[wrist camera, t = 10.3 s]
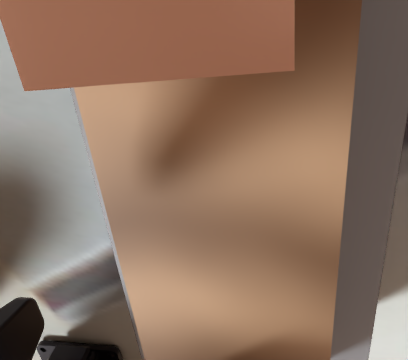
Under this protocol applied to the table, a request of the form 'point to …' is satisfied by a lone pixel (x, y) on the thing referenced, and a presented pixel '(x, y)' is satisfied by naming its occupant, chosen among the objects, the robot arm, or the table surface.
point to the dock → (357, 174)
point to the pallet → (232, 197)
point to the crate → (146, 40)
